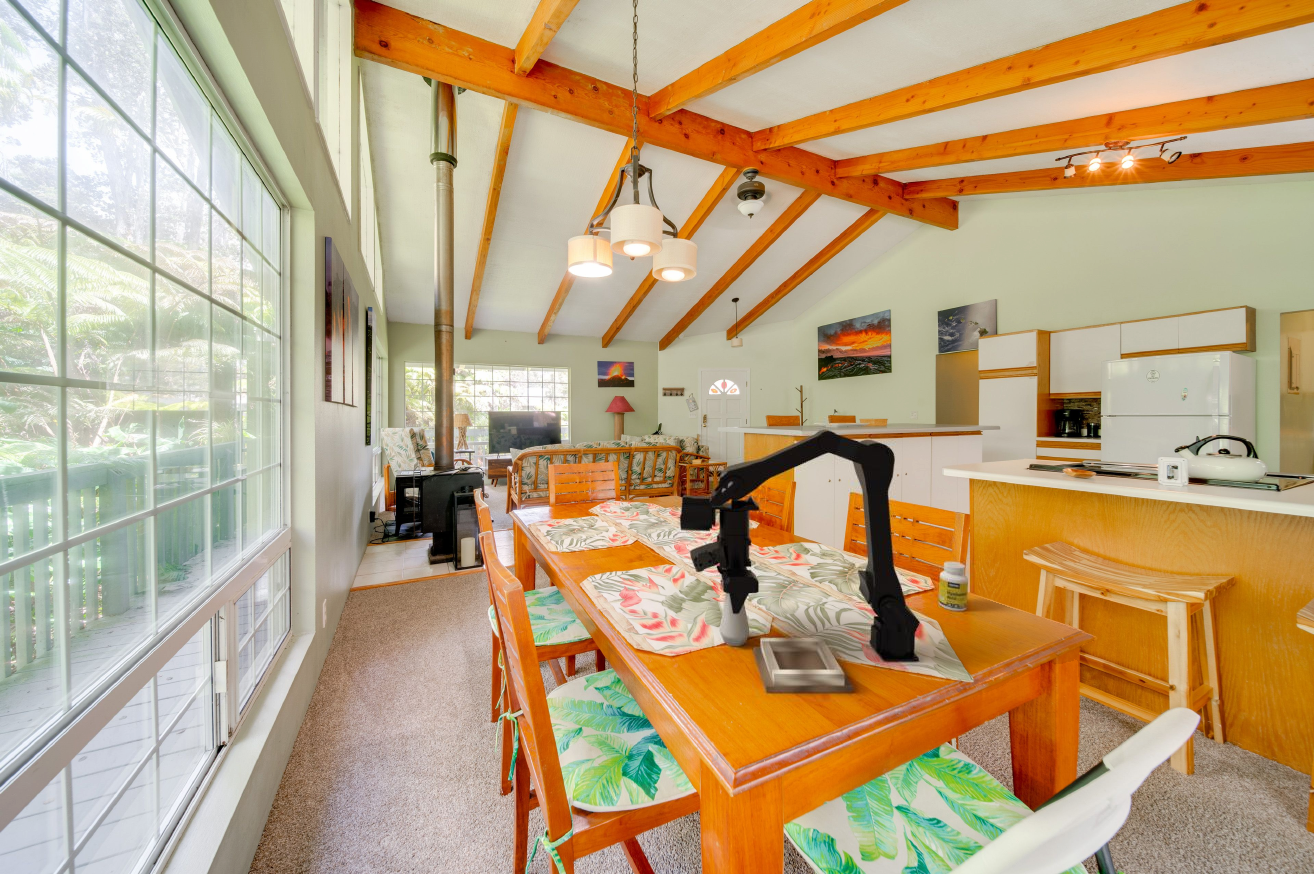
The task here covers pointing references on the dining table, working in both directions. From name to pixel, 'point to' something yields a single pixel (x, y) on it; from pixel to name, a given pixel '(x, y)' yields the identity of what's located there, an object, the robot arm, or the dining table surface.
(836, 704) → the dining table surface
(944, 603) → the supplement bottle
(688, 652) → the dining table surface
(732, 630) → the salt shaker
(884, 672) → the dining table surface
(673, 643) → the dining table surface
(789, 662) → the shaker stand
